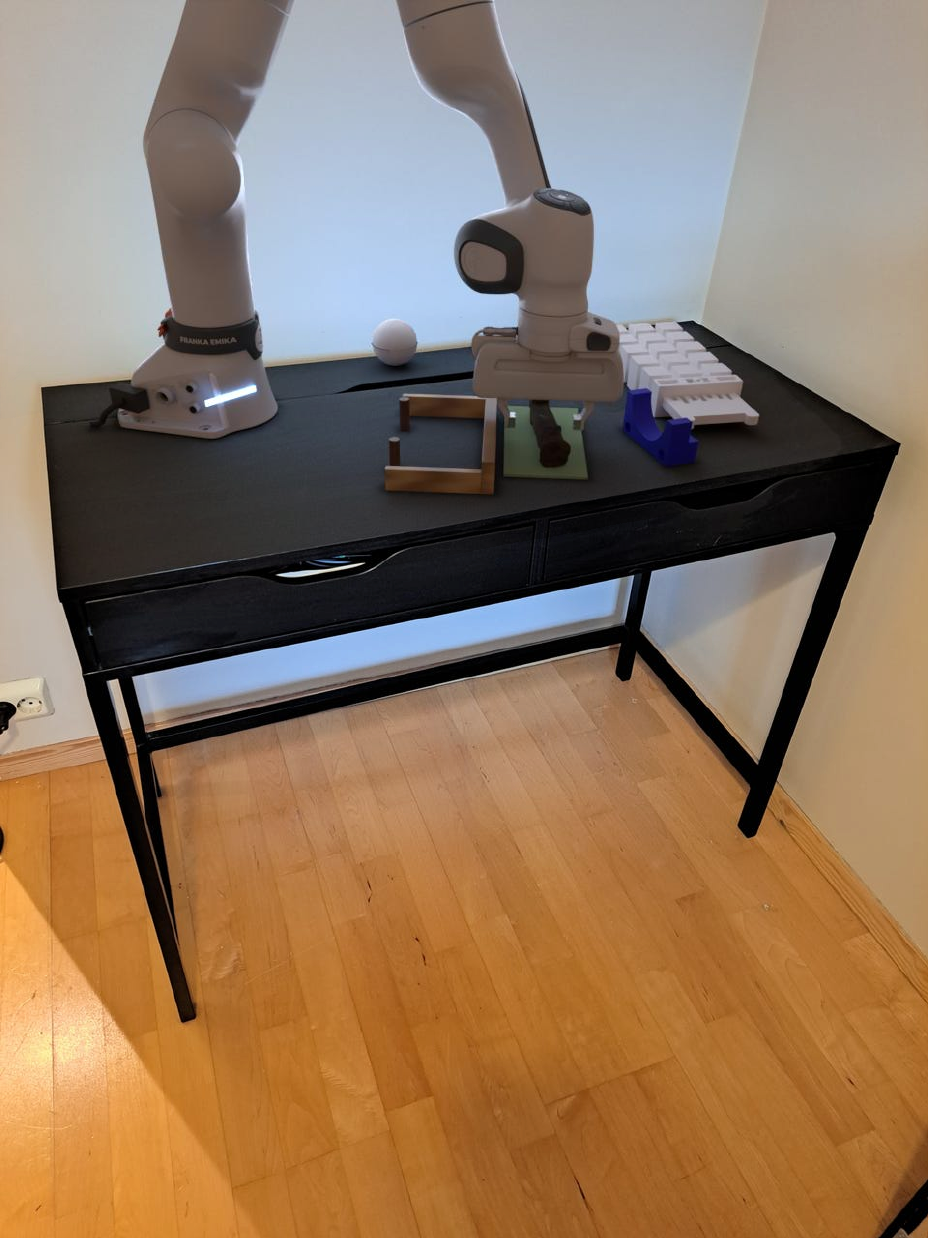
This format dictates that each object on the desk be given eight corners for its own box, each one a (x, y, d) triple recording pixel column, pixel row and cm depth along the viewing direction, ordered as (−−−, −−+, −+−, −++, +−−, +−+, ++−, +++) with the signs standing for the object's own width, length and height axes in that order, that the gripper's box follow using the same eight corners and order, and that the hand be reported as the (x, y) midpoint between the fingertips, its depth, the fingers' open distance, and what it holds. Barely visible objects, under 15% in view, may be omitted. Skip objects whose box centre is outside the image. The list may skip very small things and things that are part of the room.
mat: (503, 476, 117) (503, 473, 117) (504, 407, 135) (504, 405, 135) (587, 479, 117) (587, 476, 117) (577, 410, 135) (578, 408, 134)
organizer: (675, 321, 154) (769, 403, 126) (670, 349, 156) (761, 435, 129) (601, 325, 151) (681, 409, 124) (598, 353, 154) (675, 441, 127)
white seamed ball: (365, 360, 149) (363, 316, 145) (405, 353, 152) (404, 309, 148) (391, 381, 142) (389, 335, 138) (432, 373, 145) (432, 328, 141)
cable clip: (694, 461, 122) (702, 420, 118) (665, 466, 121) (672, 424, 117) (649, 426, 131) (655, 386, 127) (622, 430, 129) (627, 390, 126)
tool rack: (385, 490, 114) (384, 458, 111) (403, 412, 133) (403, 383, 130) (493, 494, 113) (494, 462, 111) (496, 415, 133) (497, 386, 130)
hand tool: (569, 469, 119) (572, 436, 116) (539, 469, 118) (541, 436, 116) (551, 410, 134) (553, 380, 131) (524, 410, 134) (526, 380, 131)
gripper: (470, 334, 114) (468, 434, 122) (632, 339, 114) (618, 440, 122) (472, 317, 119) (470, 415, 128) (626, 323, 119) (614, 420, 127)
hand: (543, 427), depth 125 cm, fingers open, 8 cm apart
